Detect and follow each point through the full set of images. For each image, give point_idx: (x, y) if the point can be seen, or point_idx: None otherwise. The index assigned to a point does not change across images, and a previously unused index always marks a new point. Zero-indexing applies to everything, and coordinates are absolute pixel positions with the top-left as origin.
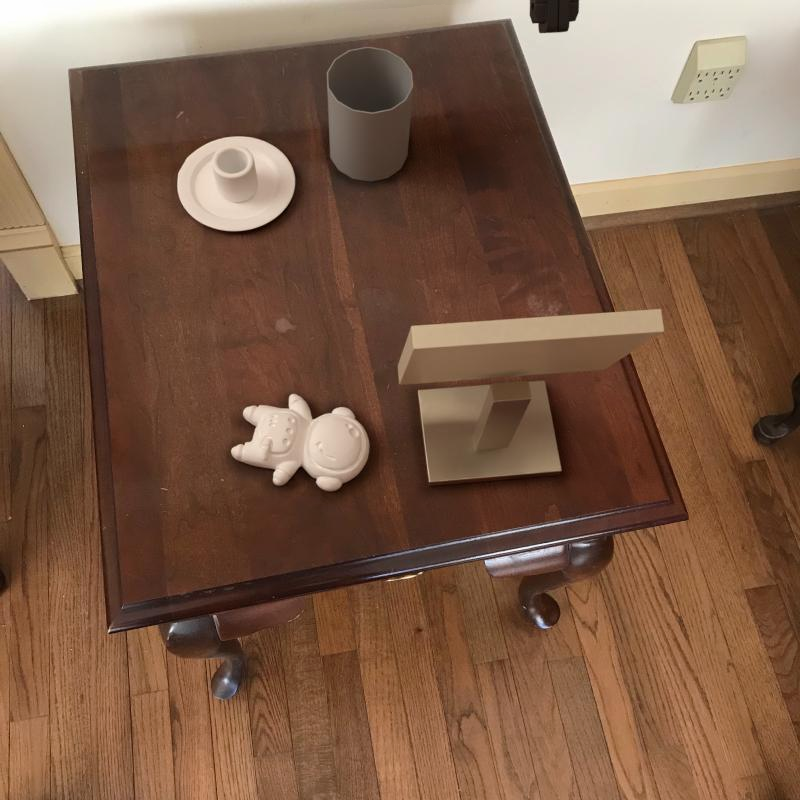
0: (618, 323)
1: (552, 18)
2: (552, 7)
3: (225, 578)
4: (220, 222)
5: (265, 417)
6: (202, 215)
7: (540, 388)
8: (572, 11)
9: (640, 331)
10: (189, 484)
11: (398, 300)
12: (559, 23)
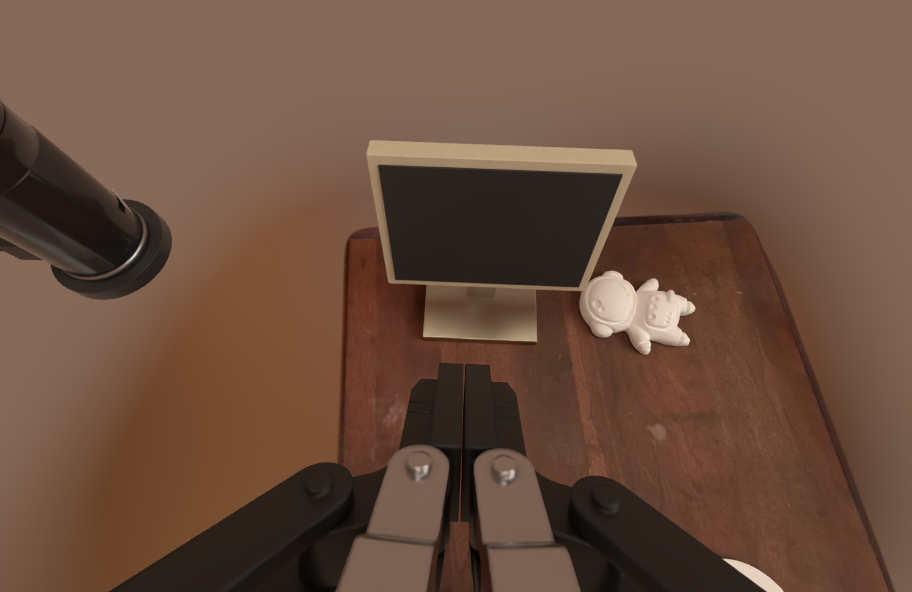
0: (416, 148)
1: (479, 371)
2: (479, 386)
3: (682, 226)
4: (746, 574)
5: (672, 326)
6: (769, 588)
7: (428, 329)
8: (426, 391)
9: (394, 142)
10: (720, 293)
11: (544, 447)
12: (461, 366)
